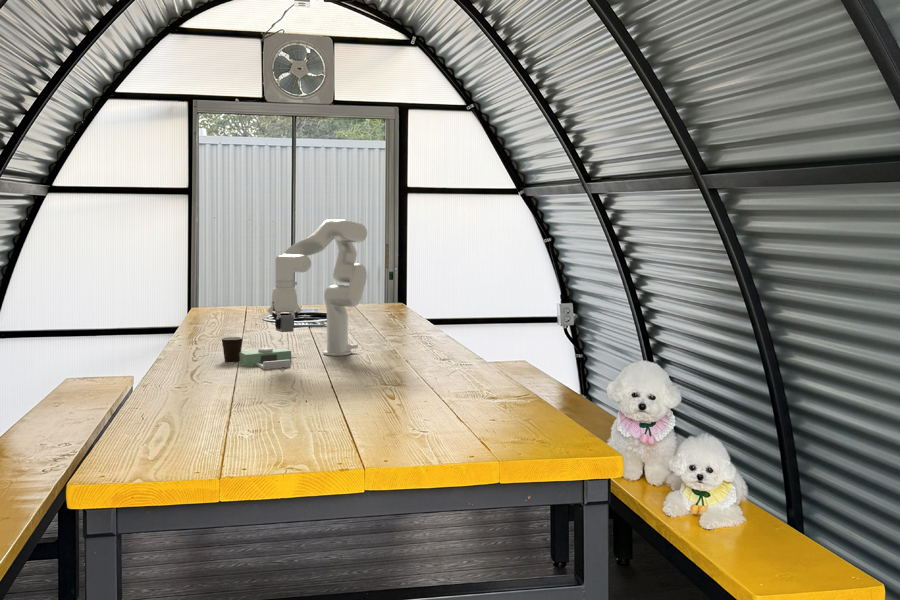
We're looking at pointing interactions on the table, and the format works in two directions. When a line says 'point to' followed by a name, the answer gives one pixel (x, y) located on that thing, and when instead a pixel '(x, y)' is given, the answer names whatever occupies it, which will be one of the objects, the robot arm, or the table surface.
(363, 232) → the robot arm
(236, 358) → the coffee mug
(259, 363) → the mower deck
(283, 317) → the grey block
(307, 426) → the table surface
